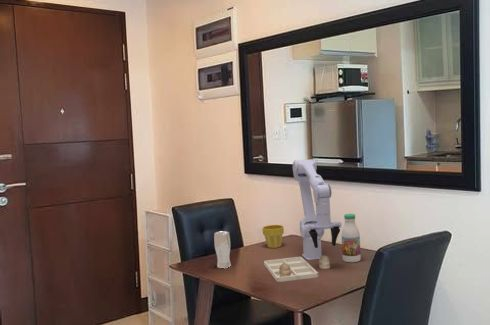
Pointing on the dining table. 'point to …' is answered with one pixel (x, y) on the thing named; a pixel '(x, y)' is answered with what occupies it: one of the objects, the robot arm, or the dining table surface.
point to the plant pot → (273, 235)
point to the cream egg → (324, 262)
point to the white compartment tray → (297, 266)
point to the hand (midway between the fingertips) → (324, 246)
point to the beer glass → (222, 248)
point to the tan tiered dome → (284, 270)
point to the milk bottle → (350, 240)
